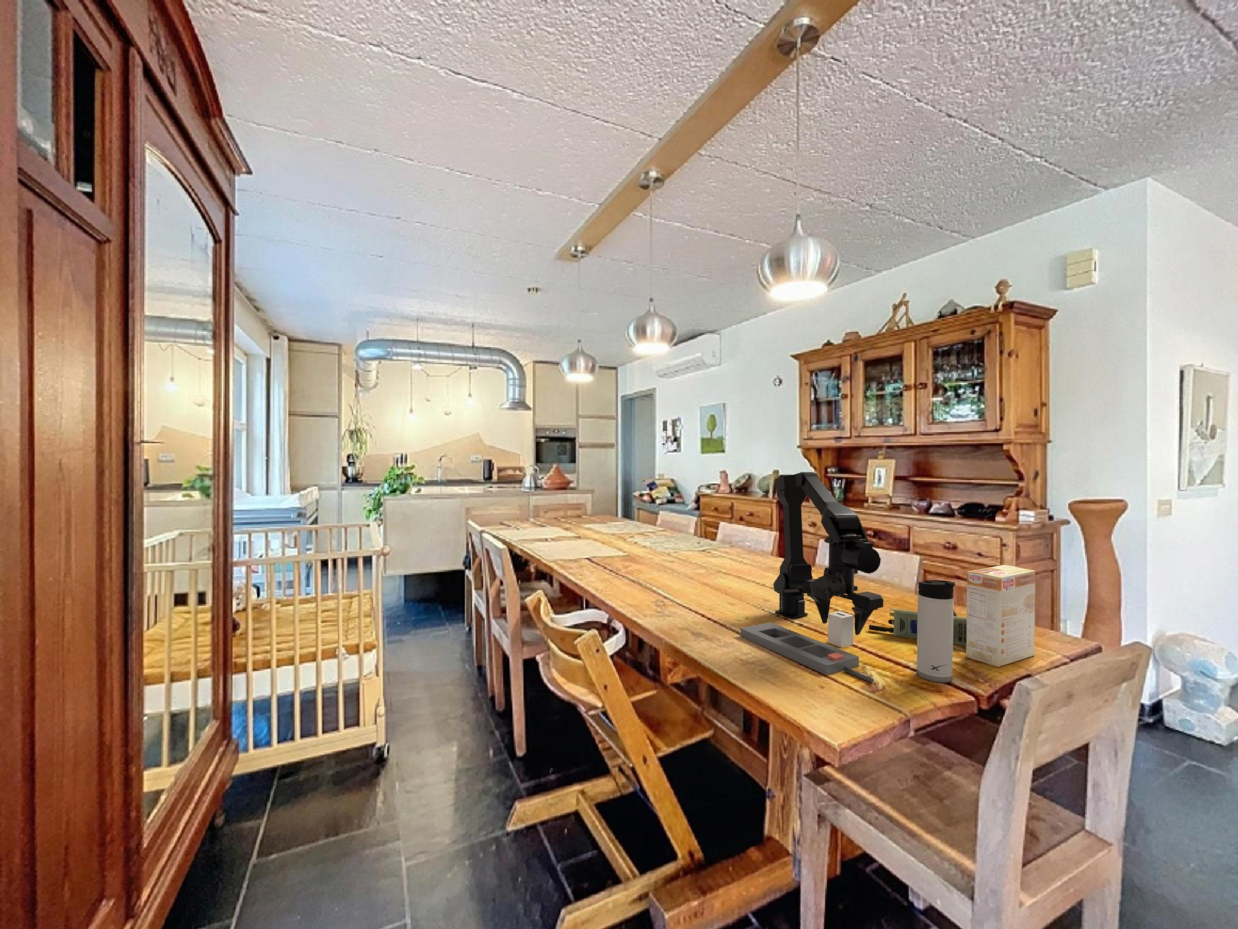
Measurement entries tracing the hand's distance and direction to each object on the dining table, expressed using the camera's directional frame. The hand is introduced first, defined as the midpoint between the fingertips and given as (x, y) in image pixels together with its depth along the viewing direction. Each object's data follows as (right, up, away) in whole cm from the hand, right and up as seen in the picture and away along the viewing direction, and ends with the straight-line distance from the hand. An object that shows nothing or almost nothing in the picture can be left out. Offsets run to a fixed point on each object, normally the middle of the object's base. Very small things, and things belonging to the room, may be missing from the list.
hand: (840, 629), depth 126 cm
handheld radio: (+22, -4, +3) cm, 23 cm away
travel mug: (+11, -4, -19) cm, 22 cm away
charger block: (0, -4, 0) cm, 4 cm away
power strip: (-11, -4, -8) cm, 14 cm away
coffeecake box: (+33, -4, -8) cm, 34 cm away
